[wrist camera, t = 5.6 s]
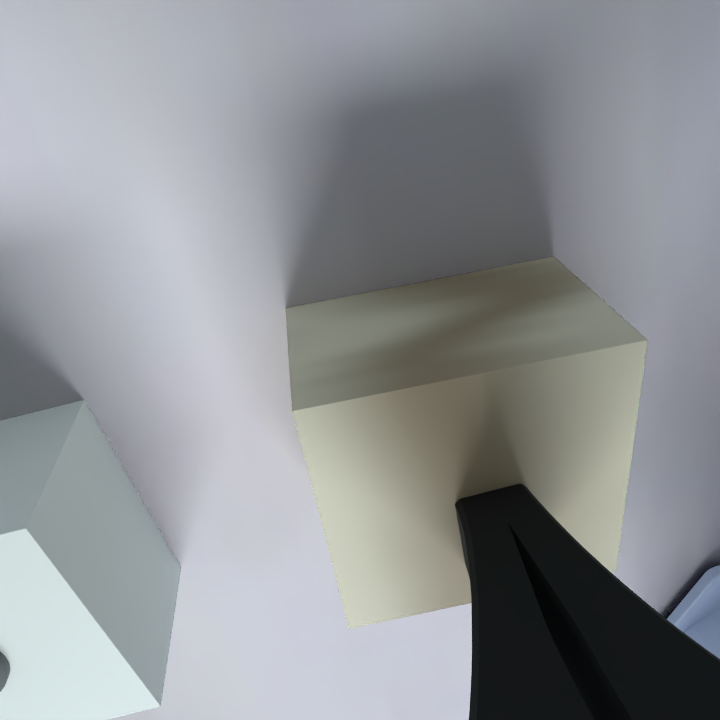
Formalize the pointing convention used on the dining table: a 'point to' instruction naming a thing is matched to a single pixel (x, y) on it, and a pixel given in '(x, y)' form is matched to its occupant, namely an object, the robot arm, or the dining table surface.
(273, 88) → the dining table surface
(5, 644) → the one-dot block
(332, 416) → the maple block
